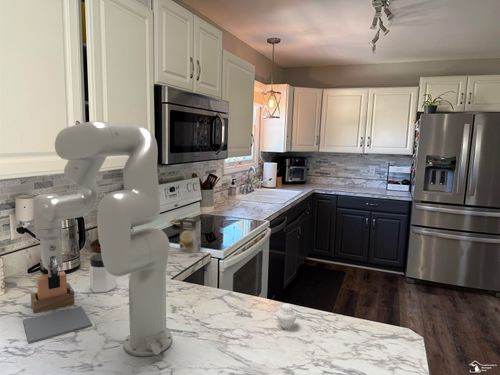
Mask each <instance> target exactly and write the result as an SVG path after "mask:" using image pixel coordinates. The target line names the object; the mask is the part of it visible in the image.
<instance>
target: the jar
mask: <svg viewBox="0 0 500 375" xmlns="http://www.w3.org/2000/svg"><path fill="white" fill-rule="evenodd" d="M88 265H89V287H90V290H91V291H92V293H94V294H95V293H108V292H109V291H110V292H111V290H113V289H116V287H117V280H116V278H117V276H114V275H111V274H110V273H109V272H108V271H107V270H106V268H105V266H104V264H103V260H102V255H101V253H99V254H93V255H92V256H90V258H89V264H88Z"/></svg>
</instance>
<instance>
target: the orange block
mask: <svg viewBox="0 0 500 375" xmlns="http://www.w3.org/2000/svg"><path fill="white" fill-rule="evenodd" d="M59 275H60V287H59V288H54V289H49V288H48V277H49V274H45V275H44V274H39V275H37V276H36V293H38V300H43V299H47V298H52V297H56V296H61V295H65V294H67V283H68V282H67V274H66V272H65V271H64V270H62V271H59Z"/></svg>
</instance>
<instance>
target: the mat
mask: <svg viewBox="0 0 500 375" xmlns="http://www.w3.org/2000/svg"><path fill="white" fill-rule="evenodd" d="M22 322H23V323H22V324H23V327H24V330H25V334H26V338H27V342H28V344H33V343H36V342H39V341H43V340H47V339H51V338H54V337H58V336H61V335H65V334H68V333H73V332H76V331H79V330H82V329H88V328H90V327H93V323H92V321H91V319H90V318H89V316H88V315H87V313H86V311H85V310H84V308H83V307H82V305H79V306H76V307H71V308H68V309H63V310H60V311H55V312H51V313H47V314H43V315H39V316H35V317H30V318H26V319H23V320H22Z"/></svg>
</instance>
